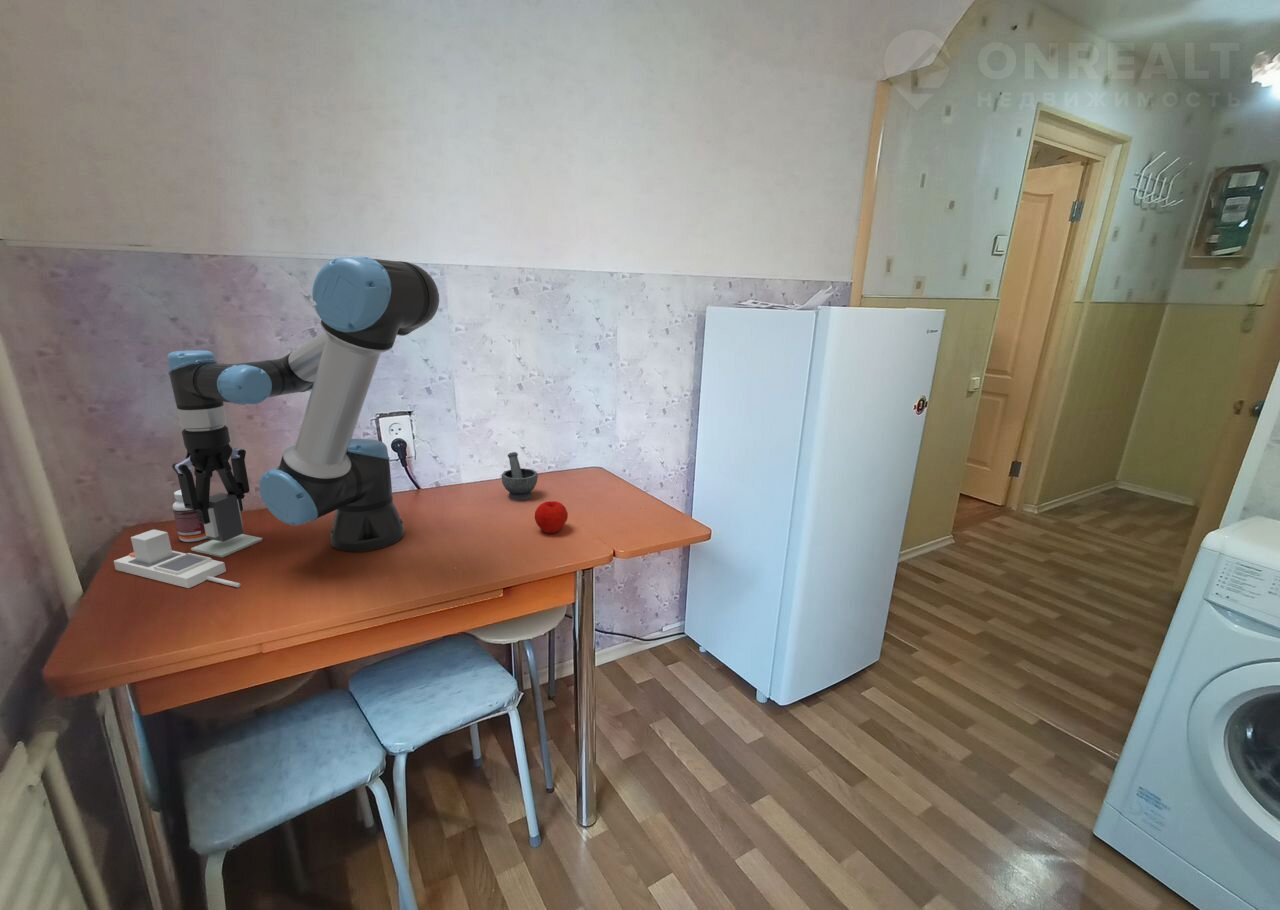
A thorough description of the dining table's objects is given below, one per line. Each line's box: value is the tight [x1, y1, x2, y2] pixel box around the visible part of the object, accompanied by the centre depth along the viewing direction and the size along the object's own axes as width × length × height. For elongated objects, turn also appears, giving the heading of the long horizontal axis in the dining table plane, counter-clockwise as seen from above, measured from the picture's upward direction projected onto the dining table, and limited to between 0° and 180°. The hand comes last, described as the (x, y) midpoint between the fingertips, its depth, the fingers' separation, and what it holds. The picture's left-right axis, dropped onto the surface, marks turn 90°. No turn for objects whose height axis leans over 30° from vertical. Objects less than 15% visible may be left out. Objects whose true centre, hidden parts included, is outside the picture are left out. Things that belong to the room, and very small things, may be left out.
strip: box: [113, 528, 241, 589], centre depth 106 cm, size 28×7×7 cm, turn 72°
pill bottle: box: [172, 489, 208, 543], centre depth 121 cm, size 6×6×11 cm
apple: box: [534, 500, 569, 534], centre depth 131 cm, size 8×8×7 cm
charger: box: [207, 492, 244, 542], centre depth 117 cm, size 4×5×9 cm
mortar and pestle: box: [501, 451, 539, 502], centre depth 152 cm, size 11×9×12 cm
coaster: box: [190, 533, 263, 558], centre depth 119 cm, size 9×9×1 cm
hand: (225, 531), depth 118 cm, fingers closed on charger, 5 cm apart
